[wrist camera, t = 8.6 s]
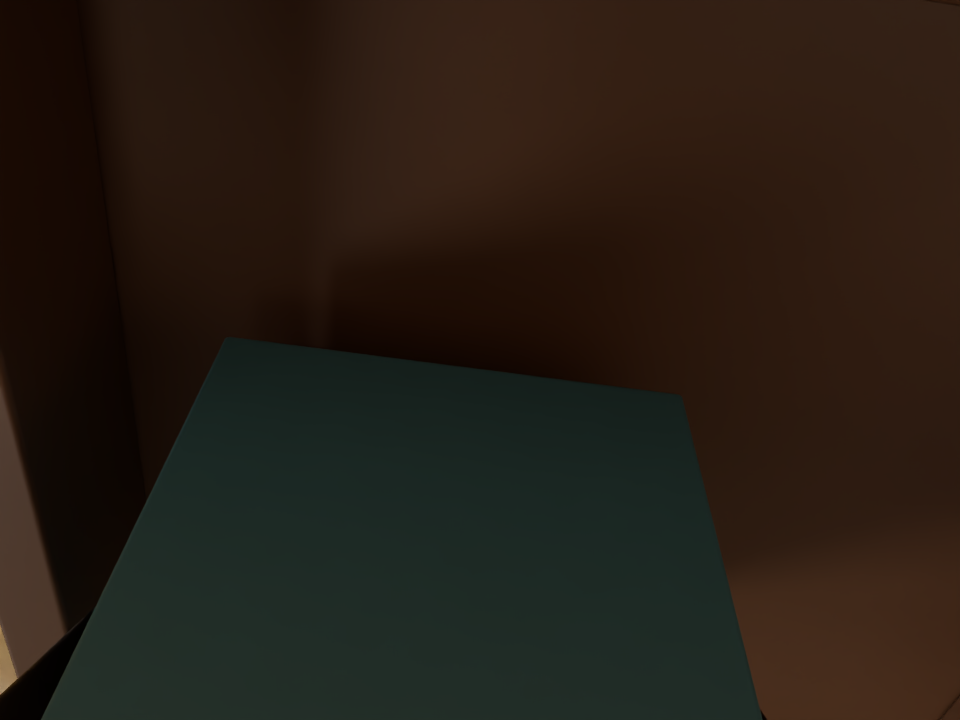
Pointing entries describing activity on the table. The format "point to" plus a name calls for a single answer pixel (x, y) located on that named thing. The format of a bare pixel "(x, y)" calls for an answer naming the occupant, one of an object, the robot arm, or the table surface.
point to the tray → (512, 271)
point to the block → (416, 555)
